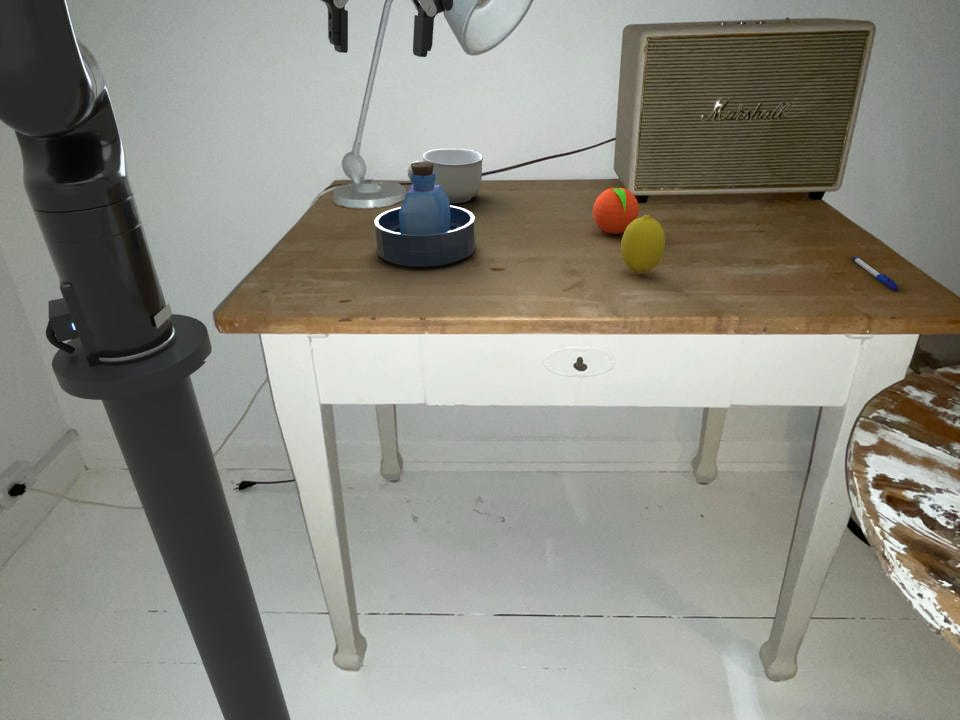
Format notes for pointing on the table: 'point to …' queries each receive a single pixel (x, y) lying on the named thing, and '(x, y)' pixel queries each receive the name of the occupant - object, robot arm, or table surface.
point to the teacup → (455, 172)
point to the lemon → (643, 244)
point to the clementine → (615, 210)
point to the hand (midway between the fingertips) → (381, 53)
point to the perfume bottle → (424, 203)
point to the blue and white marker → (877, 274)
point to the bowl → (425, 240)
